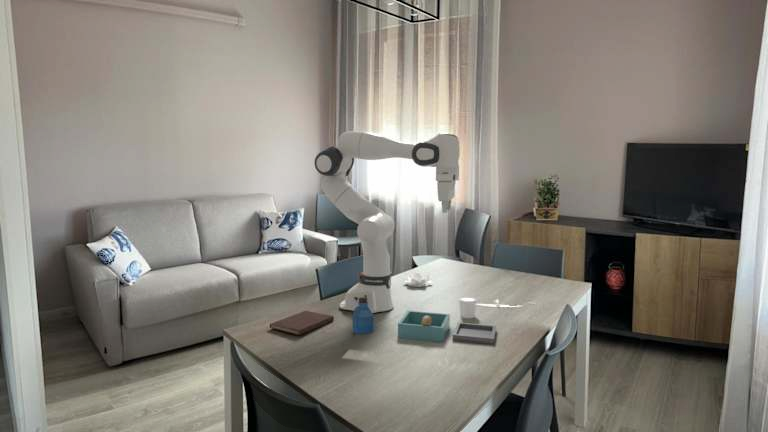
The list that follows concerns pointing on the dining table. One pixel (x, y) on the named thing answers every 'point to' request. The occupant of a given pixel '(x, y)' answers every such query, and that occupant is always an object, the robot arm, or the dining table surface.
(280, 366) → the dining table surface
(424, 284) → the lotus flower
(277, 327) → the notebook
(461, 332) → the charcoal tray
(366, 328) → the perfume bottle
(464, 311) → the white cylinder
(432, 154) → the robot arm
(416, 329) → the shallow teal crate
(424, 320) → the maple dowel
